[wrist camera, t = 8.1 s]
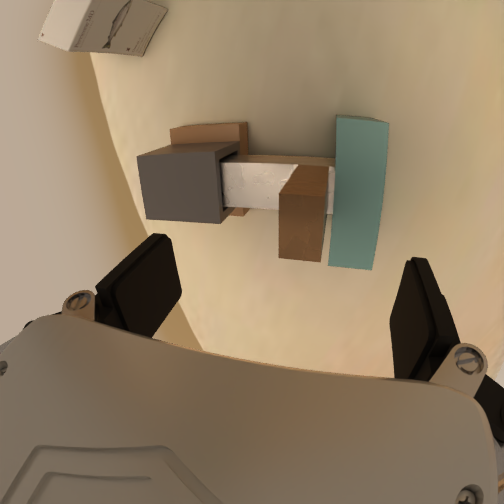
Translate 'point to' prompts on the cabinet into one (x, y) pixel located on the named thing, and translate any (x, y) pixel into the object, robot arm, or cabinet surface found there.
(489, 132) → the cabinet surface
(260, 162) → the multicoloured piece
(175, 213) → the grey block with backplate
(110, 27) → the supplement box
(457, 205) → the cabinet surface
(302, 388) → the robot arm
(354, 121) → the socket
